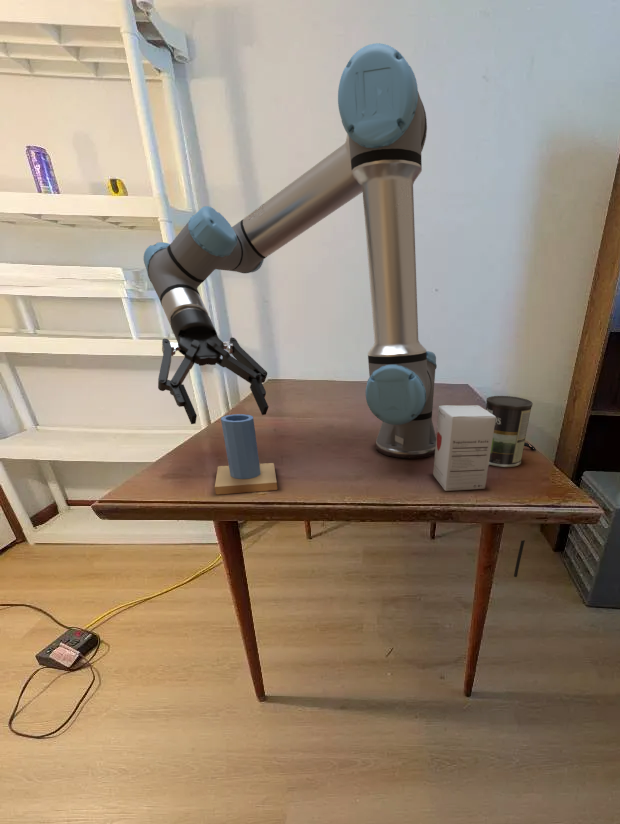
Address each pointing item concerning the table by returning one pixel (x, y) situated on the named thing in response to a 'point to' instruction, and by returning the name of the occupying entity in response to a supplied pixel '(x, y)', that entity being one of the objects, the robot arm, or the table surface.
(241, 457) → the blue hollow tube
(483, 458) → the white product box
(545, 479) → the table surface
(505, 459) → the coffee can
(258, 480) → the stand
